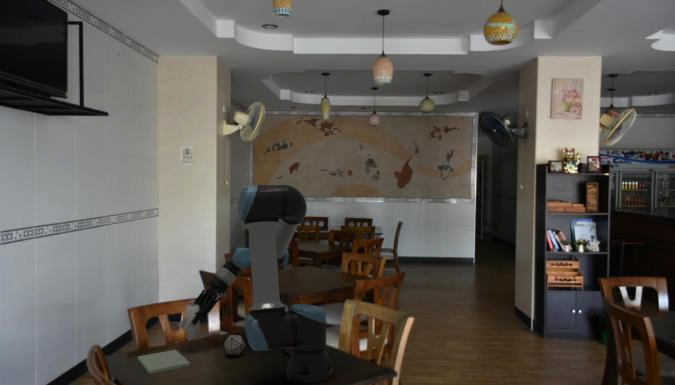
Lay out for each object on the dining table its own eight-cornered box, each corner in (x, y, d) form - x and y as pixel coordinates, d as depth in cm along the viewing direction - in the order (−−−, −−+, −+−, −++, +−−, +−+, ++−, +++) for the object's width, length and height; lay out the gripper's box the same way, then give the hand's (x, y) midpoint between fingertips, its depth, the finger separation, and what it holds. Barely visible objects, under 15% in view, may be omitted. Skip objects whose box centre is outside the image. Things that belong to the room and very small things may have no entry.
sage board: (190, 366, 185) (189, 362, 185) (149, 374, 178) (149, 370, 178) (175, 352, 200) (175, 349, 200) (137, 359, 193) (137, 356, 193)
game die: (235, 367, 195) (229, 350, 188) (221, 354, 199) (214, 338, 193) (253, 350, 200) (248, 334, 193) (238, 339, 204) (233, 323, 198)
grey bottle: (201, 337, 202) (200, 301, 202) (188, 339, 200) (187, 303, 200) (197, 334, 207) (196, 299, 207) (184, 336, 204) (183, 300, 204)
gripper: (238, 289, 205) (199, 339, 195) (218, 284, 220) (181, 330, 210) (225, 277, 202) (185, 327, 192) (206, 272, 216) (168, 319, 206)
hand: (183, 328), depth 201 cm, fingers closed on grey bottle, 5 cm apart
